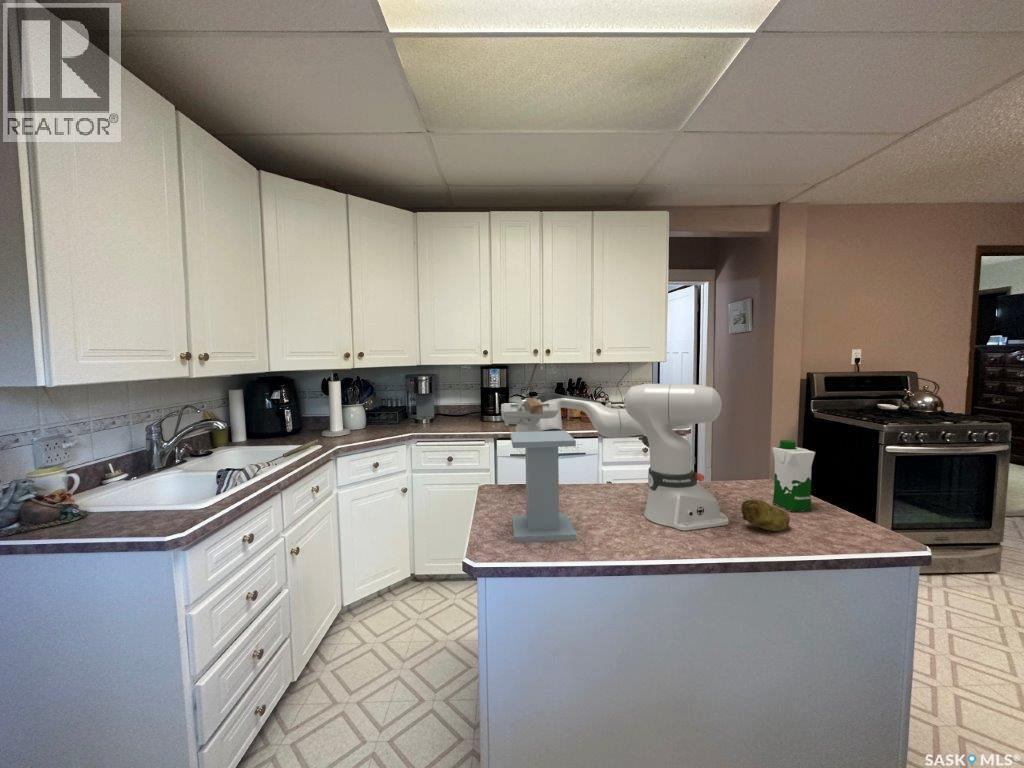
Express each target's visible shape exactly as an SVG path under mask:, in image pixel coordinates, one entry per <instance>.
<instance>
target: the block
mask: <svg viewBox="0 0 1024 768" xmlns="http://www.w3.org/2000/svg"><path fill="white" fill-rule="evenodd" d="M536 398H537V397H524V400H526V407H527V409H528V410H529V412H530V413H531V414H543V405H542V404H541V403H540V402H539V401H538V400H537V399H536Z"/></svg>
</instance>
